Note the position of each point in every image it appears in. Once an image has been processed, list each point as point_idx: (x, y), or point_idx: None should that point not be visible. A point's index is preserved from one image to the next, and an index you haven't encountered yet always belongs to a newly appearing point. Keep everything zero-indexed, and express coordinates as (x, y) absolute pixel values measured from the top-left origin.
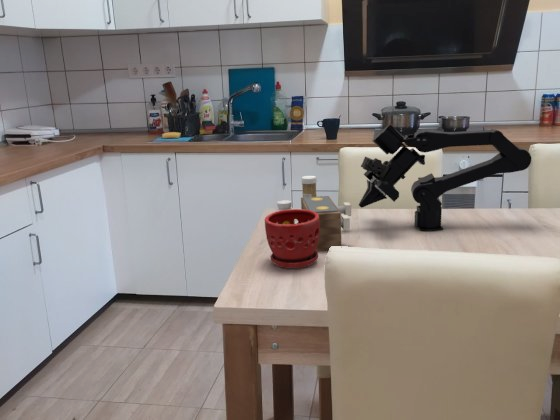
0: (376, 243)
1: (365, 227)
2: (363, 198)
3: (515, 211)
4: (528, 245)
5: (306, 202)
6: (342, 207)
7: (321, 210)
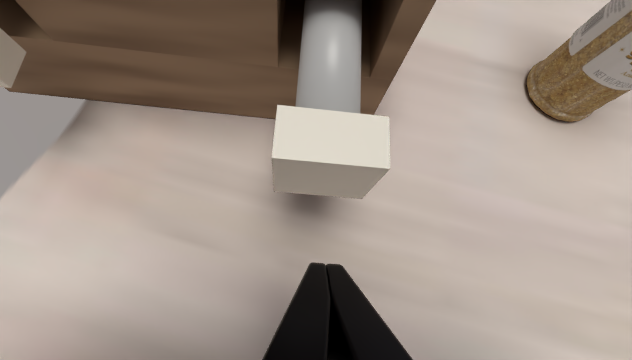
0: (17, 302)
1: None
2: (322, 324)
3: None
4: None
5: None
6: (308, 101)
7: None
